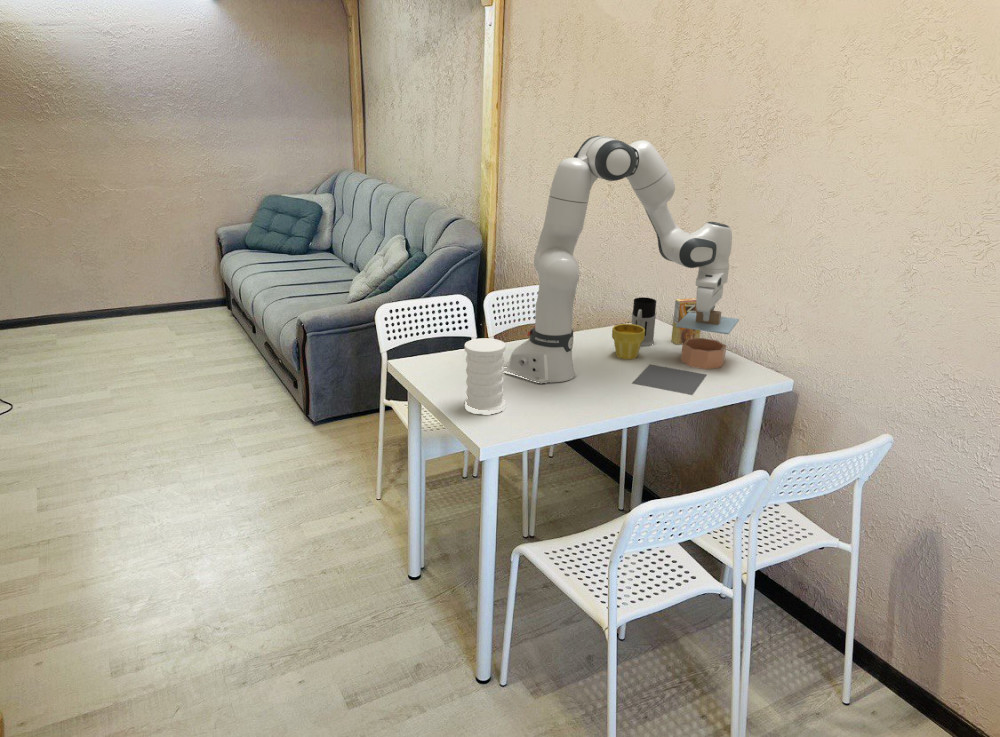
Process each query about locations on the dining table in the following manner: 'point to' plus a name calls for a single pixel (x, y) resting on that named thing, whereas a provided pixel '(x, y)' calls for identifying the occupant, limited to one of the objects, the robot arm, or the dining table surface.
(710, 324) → the sheet
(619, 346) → the plant pot
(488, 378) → the decorative container
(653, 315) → the glass holder
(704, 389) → the dining table surface
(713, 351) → the bowl
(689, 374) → the mat
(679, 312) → the candy box
